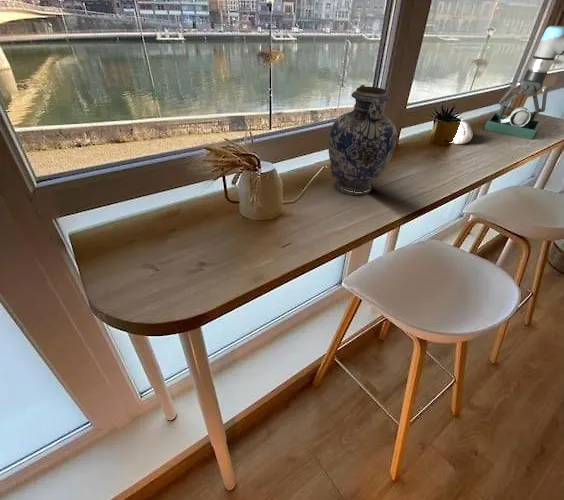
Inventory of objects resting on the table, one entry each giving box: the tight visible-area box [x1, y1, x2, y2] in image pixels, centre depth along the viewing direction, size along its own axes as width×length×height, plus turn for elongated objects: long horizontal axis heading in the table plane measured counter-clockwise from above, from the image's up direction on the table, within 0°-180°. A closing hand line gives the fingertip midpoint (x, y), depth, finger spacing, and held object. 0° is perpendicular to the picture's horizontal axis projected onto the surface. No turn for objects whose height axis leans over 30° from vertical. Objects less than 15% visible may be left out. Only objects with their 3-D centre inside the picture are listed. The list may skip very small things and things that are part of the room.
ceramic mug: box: [500, 106, 532, 127], centre depth 148 cm, size 11×8×8 cm
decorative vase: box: [327, 84, 398, 196], centre depth 92 cm, size 21×19×28 cm
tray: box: [483, 112, 541, 140], centre depth 150 cm, size 20×18×4 cm
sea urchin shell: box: [450, 119, 474, 145], centre depth 135 cm, size 13×14×8 cm
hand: (512, 124), depth 150 cm, fingers closed on ceramic mug, 11 cm apart
